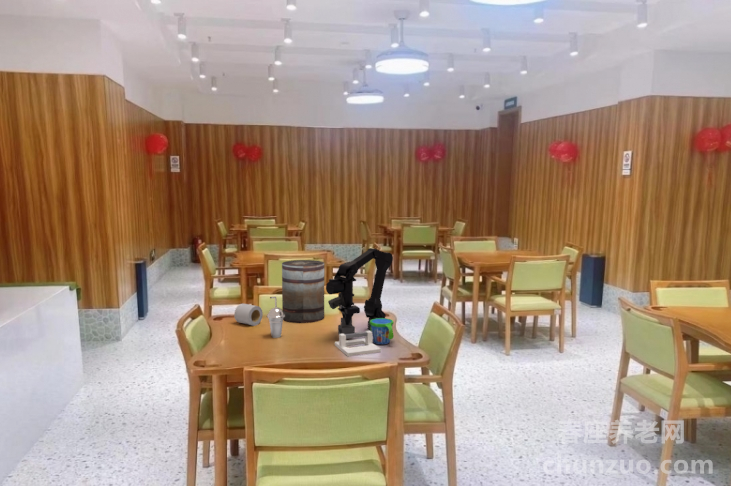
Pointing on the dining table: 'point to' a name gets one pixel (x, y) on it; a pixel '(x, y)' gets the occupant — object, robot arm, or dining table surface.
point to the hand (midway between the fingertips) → (346, 324)
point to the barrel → (303, 291)
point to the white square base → (360, 350)
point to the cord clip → (346, 327)
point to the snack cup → (381, 330)
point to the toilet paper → (248, 314)
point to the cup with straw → (276, 320)
